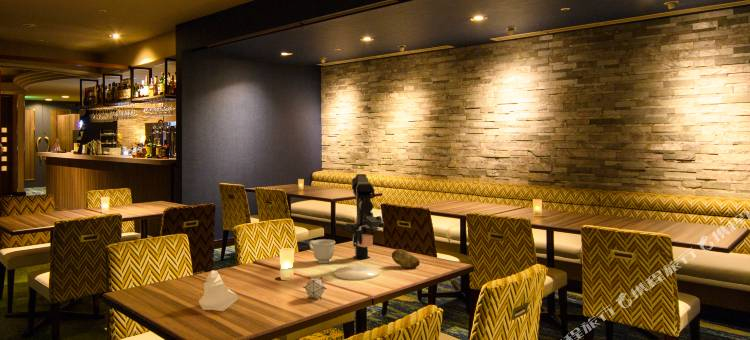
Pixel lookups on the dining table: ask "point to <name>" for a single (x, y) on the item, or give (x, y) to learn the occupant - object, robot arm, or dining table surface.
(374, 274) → the plate
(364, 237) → the block
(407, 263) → the potato
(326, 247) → the teacup
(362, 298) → the dining table surface
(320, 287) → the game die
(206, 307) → the cream irregular lump
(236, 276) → the dining table surface
